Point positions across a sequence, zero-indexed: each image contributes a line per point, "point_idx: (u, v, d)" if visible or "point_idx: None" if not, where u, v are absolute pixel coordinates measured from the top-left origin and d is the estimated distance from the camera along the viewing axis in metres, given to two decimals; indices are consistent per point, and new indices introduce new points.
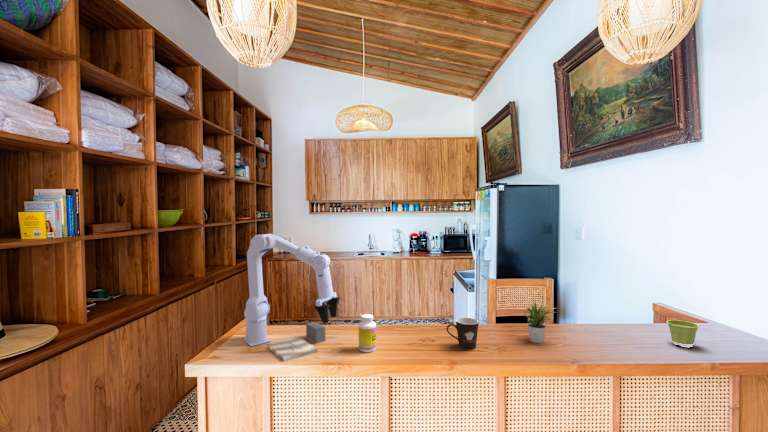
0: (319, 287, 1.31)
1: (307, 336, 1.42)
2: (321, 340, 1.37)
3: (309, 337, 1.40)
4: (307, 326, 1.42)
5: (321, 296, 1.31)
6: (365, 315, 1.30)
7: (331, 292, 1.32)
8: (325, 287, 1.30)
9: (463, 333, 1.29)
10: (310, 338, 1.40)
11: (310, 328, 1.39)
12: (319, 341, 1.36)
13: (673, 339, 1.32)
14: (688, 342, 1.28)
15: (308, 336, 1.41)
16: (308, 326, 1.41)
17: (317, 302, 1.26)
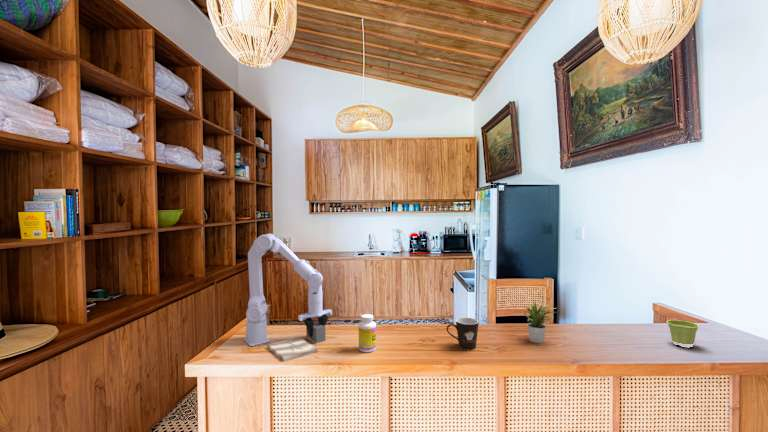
0: (308, 303, 1.39)
1: (307, 336, 1.42)
2: (321, 340, 1.37)
3: (309, 337, 1.40)
4: None
5: None
6: (365, 315, 1.30)
7: (316, 310, 1.37)
8: (311, 304, 1.37)
9: (463, 333, 1.29)
10: (310, 338, 1.40)
11: None
12: (319, 341, 1.36)
13: (673, 339, 1.32)
14: (688, 342, 1.28)
15: (308, 336, 1.41)
16: None
17: (298, 317, 1.36)
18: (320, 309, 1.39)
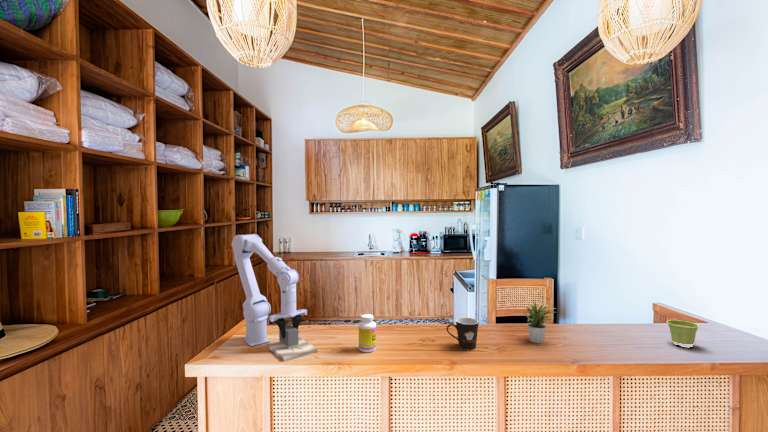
0: (281, 302, 1.31)
1: (280, 339, 1.34)
2: (294, 344, 1.29)
3: (282, 340, 1.32)
4: None
5: (281, 311, 1.31)
6: (365, 315, 1.30)
7: (289, 310, 1.29)
8: (284, 304, 1.29)
9: (463, 333, 1.29)
10: (283, 341, 1.31)
11: None
12: (291, 345, 1.28)
13: (673, 339, 1.32)
14: (688, 342, 1.28)
15: (281, 339, 1.33)
16: None
17: (270, 317, 1.28)
18: (293, 309, 1.30)
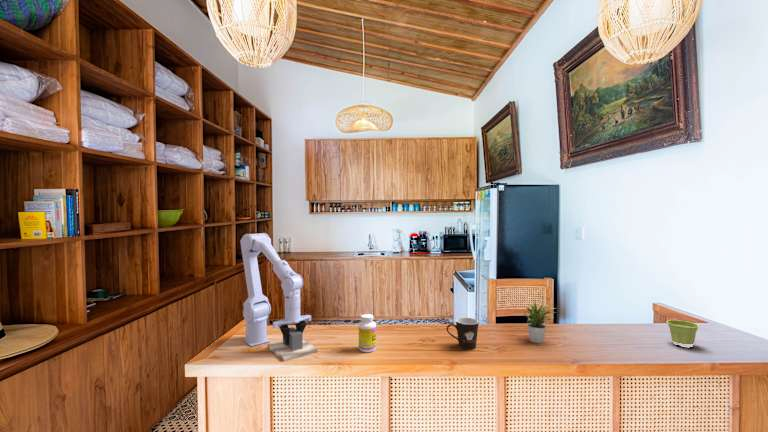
0: None
1: (283, 343, 1.31)
2: (298, 347, 1.26)
3: (285, 344, 1.29)
4: None
5: (285, 317, 1.28)
6: (365, 315, 1.30)
7: (293, 316, 1.26)
8: (288, 310, 1.26)
9: (463, 333, 1.29)
10: (286, 345, 1.28)
11: None
12: (295, 348, 1.25)
13: (673, 339, 1.32)
14: (688, 342, 1.28)
15: (284, 343, 1.30)
16: None
17: (273, 323, 1.25)
18: (297, 315, 1.27)
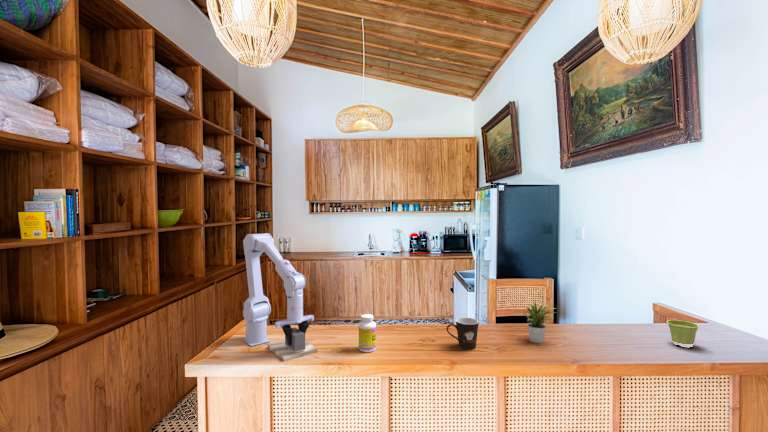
0: (287, 308, 1.26)
1: (286, 343, 1.29)
2: (300, 348, 1.24)
3: None
4: None
5: (287, 317, 1.26)
6: (365, 315, 1.30)
7: (296, 316, 1.25)
8: (290, 310, 1.25)
9: (463, 333, 1.29)
10: (289, 346, 1.27)
11: None
12: (298, 349, 1.23)
13: (673, 339, 1.32)
14: (688, 342, 1.28)
15: None
16: None
17: (276, 323, 1.23)
18: (300, 315, 1.26)
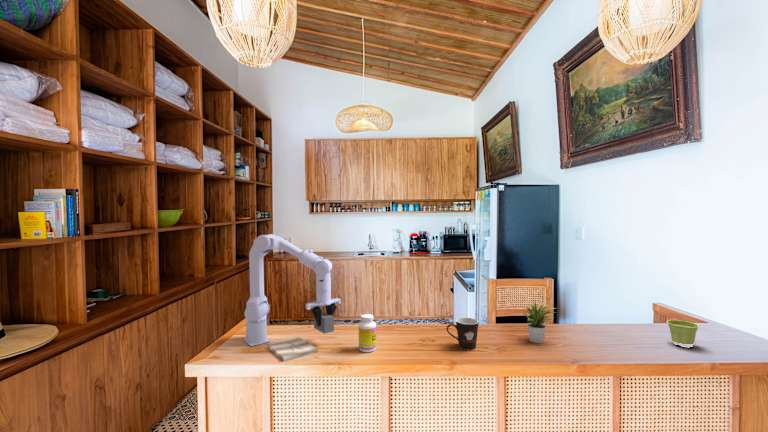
0: (316, 291, 1.34)
1: (315, 326, 1.36)
2: (330, 330, 1.31)
3: (317, 327, 1.35)
4: None
5: (316, 300, 1.33)
6: (365, 315, 1.30)
7: (325, 298, 1.32)
8: (319, 292, 1.32)
9: (463, 333, 1.29)
10: (318, 328, 1.34)
11: None
12: (327, 331, 1.31)
13: (673, 339, 1.32)
14: (688, 342, 1.28)
15: (316, 326, 1.35)
16: None
17: (306, 305, 1.30)
18: (328, 297, 1.33)
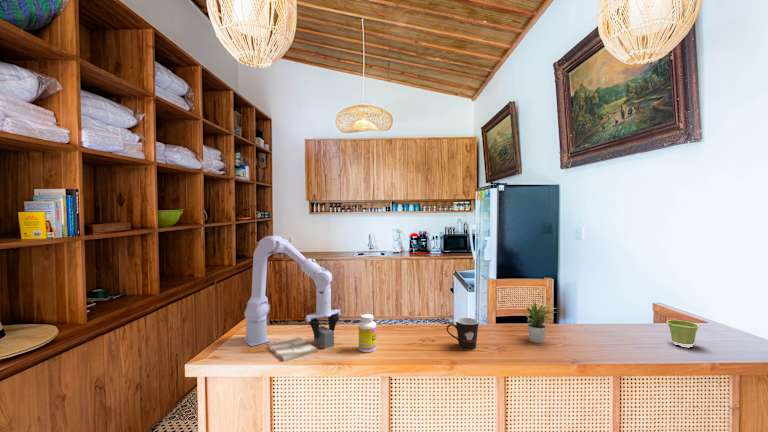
0: (316, 302, 1.34)
1: (315, 341, 1.36)
2: (330, 345, 1.31)
3: (317, 342, 1.35)
4: None
5: (316, 311, 1.33)
6: (365, 315, 1.30)
7: (325, 310, 1.32)
8: (319, 304, 1.32)
9: (463, 333, 1.29)
10: (318, 343, 1.34)
11: None
12: (327, 346, 1.31)
13: (673, 339, 1.32)
14: (688, 342, 1.28)
15: (316, 341, 1.35)
16: None
17: (306, 317, 1.30)
18: (328, 309, 1.33)
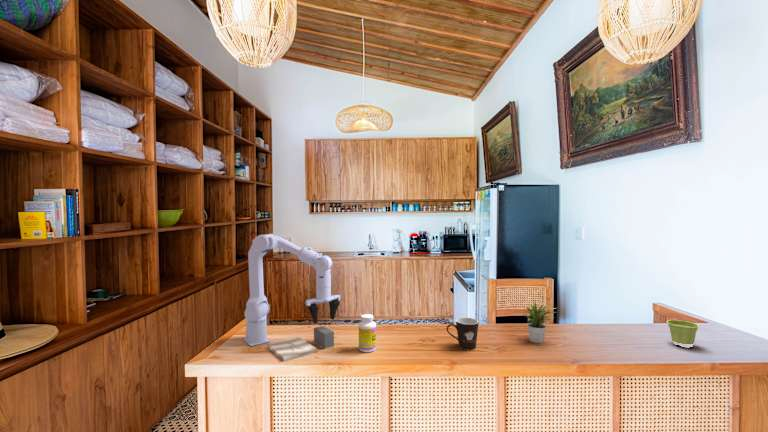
0: (316, 287, 1.34)
1: (315, 341, 1.36)
2: (330, 345, 1.31)
3: (317, 342, 1.35)
4: (315, 330, 1.36)
5: (316, 296, 1.33)
6: (365, 315, 1.30)
7: (325, 295, 1.32)
8: (319, 289, 1.32)
9: (463, 333, 1.29)
10: (318, 343, 1.34)
11: (318, 332, 1.34)
12: (327, 346, 1.31)
13: (673, 339, 1.32)
14: (688, 342, 1.28)
15: (316, 341, 1.35)
16: (316, 330, 1.35)
17: (306, 301, 1.30)
18: (328, 294, 1.33)
